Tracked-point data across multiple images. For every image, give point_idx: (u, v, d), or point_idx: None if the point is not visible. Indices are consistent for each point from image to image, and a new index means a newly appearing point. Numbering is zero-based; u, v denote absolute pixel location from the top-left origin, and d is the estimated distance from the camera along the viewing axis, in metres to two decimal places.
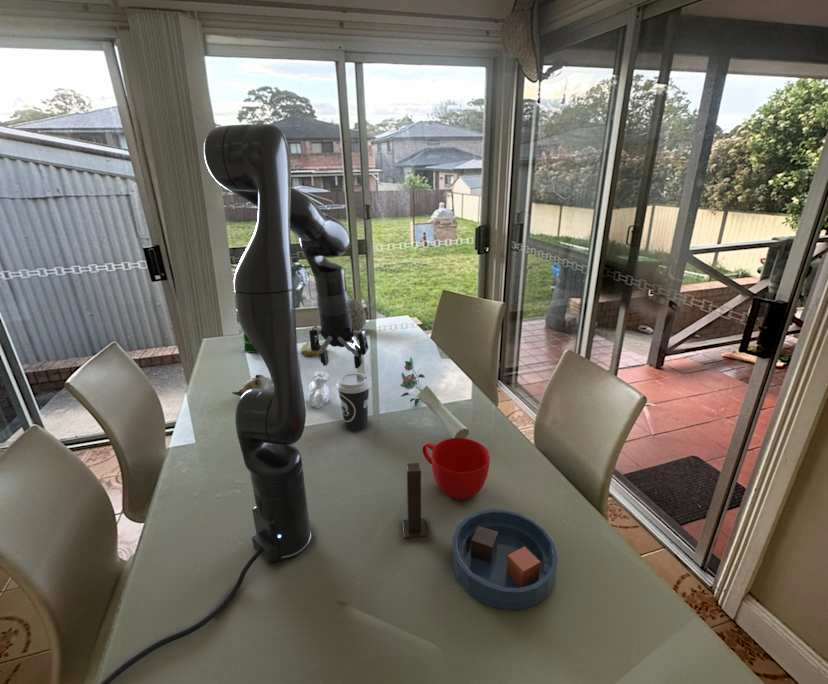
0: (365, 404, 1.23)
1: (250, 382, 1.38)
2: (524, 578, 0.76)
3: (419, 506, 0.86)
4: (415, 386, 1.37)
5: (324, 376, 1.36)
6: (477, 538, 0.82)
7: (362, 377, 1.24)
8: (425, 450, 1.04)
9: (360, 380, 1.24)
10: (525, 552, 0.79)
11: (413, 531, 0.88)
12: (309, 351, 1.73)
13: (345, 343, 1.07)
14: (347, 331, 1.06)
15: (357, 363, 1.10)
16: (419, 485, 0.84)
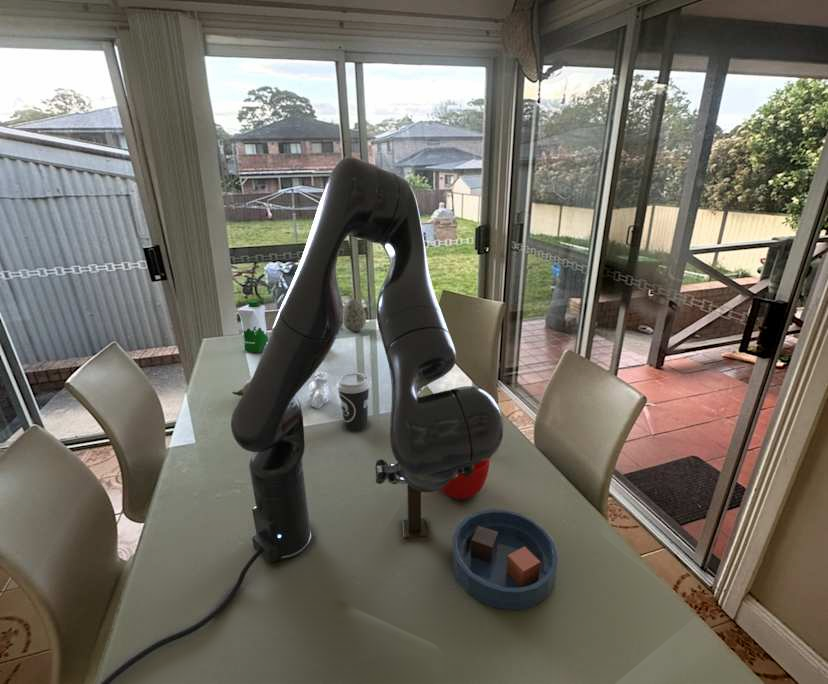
0: (365, 404, 1.23)
1: None
2: (524, 578, 0.76)
3: (419, 506, 0.86)
4: None
5: (324, 376, 1.36)
6: (477, 538, 0.82)
7: (362, 377, 1.24)
8: None
9: (360, 380, 1.24)
10: (525, 552, 0.79)
11: (413, 531, 0.88)
12: None
13: None
14: None
15: None
16: None
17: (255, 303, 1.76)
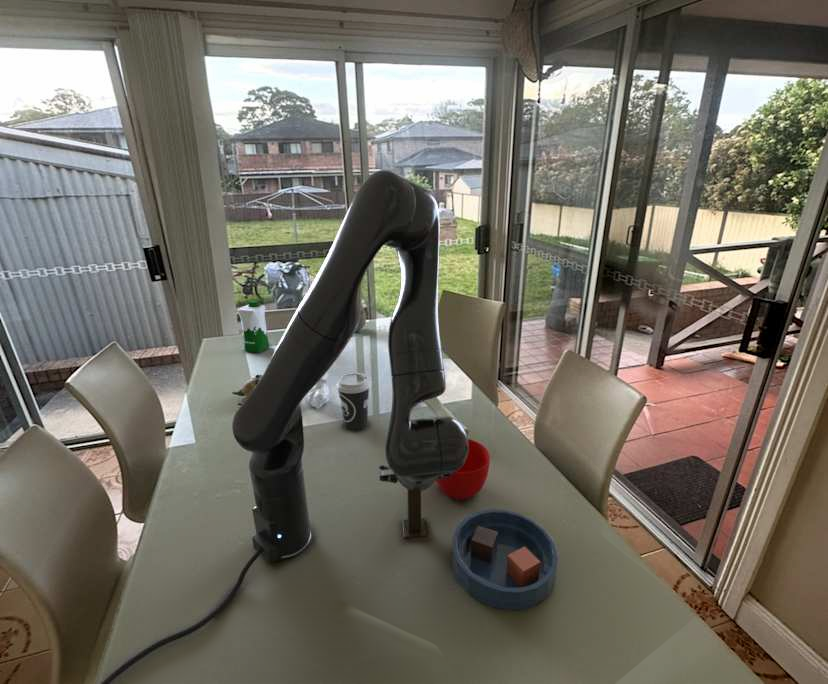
0: (365, 404, 1.23)
1: (250, 382, 1.38)
2: (524, 578, 0.76)
3: (419, 506, 0.86)
4: None
5: (324, 376, 1.36)
6: (477, 538, 0.82)
7: (362, 377, 1.24)
8: None
9: (360, 380, 1.24)
10: (525, 552, 0.79)
11: (413, 531, 0.88)
12: None
13: None
14: None
15: None
16: None
17: (255, 303, 1.76)
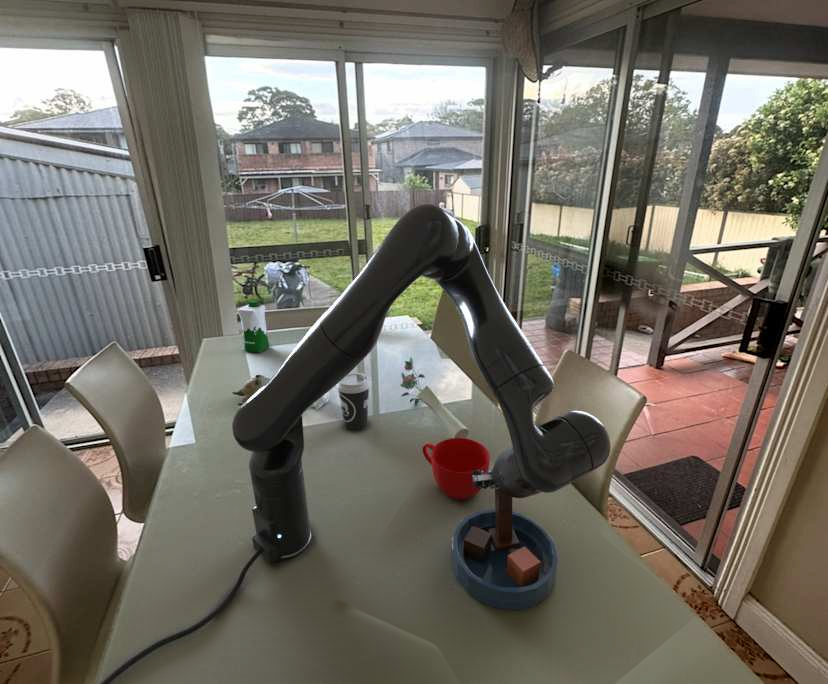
0: (365, 404, 1.23)
1: (251, 382, 1.38)
2: (524, 578, 0.76)
3: (510, 513, 0.80)
4: (415, 386, 1.37)
5: None
6: (469, 538, 0.82)
7: (362, 377, 1.24)
8: (425, 450, 1.04)
9: (360, 380, 1.24)
10: (525, 552, 0.79)
11: (504, 540, 0.82)
12: None
13: None
14: None
15: None
16: None
17: (255, 303, 1.76)
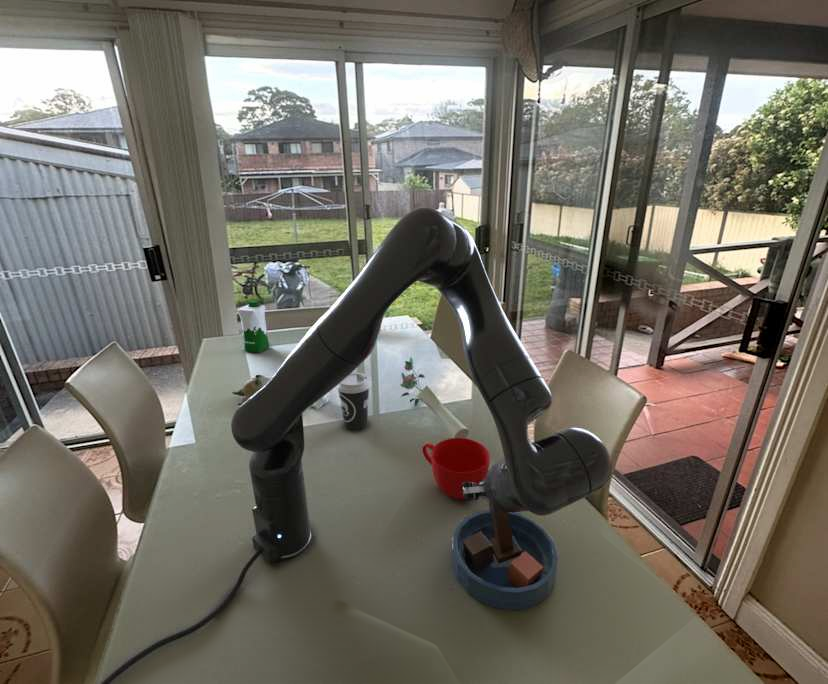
0: (365, 404, 1.23)
1: (251, 382, 1.38)
2: (528, 585, 0.74)
3: (508, 521, 0.76)
4: (415, 386, 1.37)
5: None
6: (468, 541, 0.81)
7: (362, 377, 1.24)
8: (425, 450, 1.04)
9: (360, 380, 1.24)
10: (527, 557, 0.77)
11: (506, 550, 0.78)
12: None
13: None
14: None
15: None
16: None
17: (255, 303, 1.76)
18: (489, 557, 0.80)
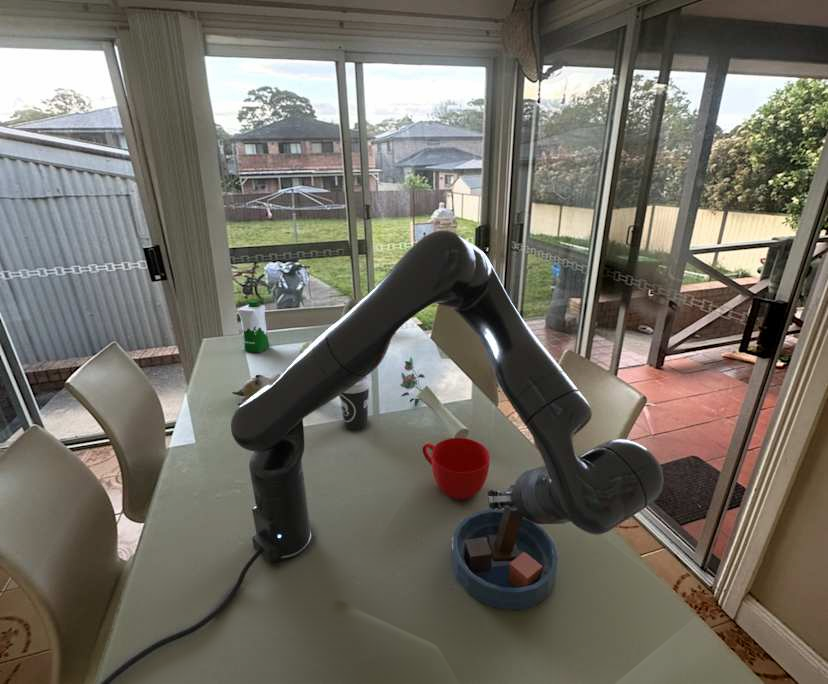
0: (365, 404, 1.23)
1: (251, 382, 1.38)
2: (528, 585, 0.74)
3: (517, 529, 0.76)
4: (415, 386, 1.37)
5: None
6: (470, 542, 0.81)
7: None
8: (425, 450, 1.04)
9: (360, 380, 1.24)
10: (526, 558, 0.78)
11: (504, 551, 0.79)
12: None
13: None
14: None
15: (503, 495, 0.75)
16: None
17: (255, 303, 1.76)
18: (487, 564, 0.79)
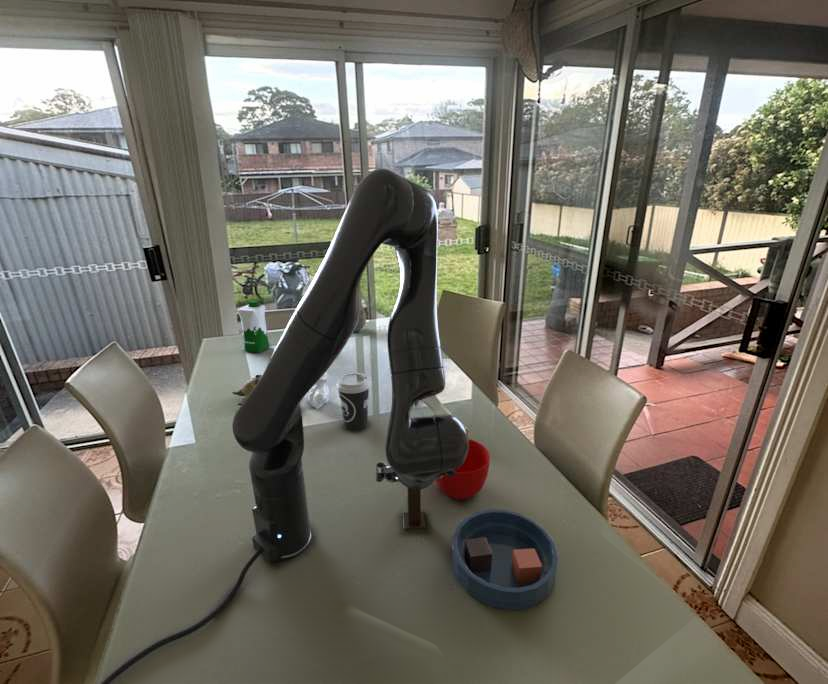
0: (365, 404, 1.23)
1: (250, 382, 1.38)
2: (520, 575, 0.76)
3: (419, 498, 0.88)
4: None
5: (324, 376, 1.36)
6: (470, 542, 0.81)
7: (362, 377, 1.24)
8: None
9: (360, 380, 1.24)
10: (531, 553, 0.78)
11: (413, 523, 0.90)
12: None
13: None
14: None
15: None
16: None
17: (255, 303, 1.76)
18: (487, 564, 0.79)
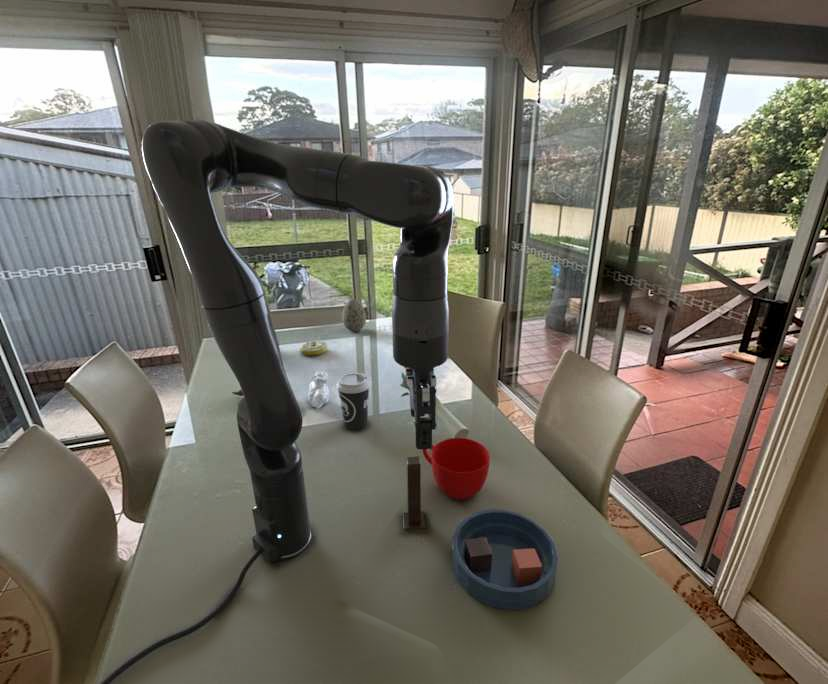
0: (365, 404, 1.23)
1: None
2: (520, 575, 0.76)
3: (419, 499, 0.88)
4: None
5: (324, 376, 1.36)
6: (470, 542, 0.81)
7: (362, 377, 1.24)
8: (425, 450, 1.04)
9: (360, 380, 1.24)
10: (531, 553, 0.78)
11: (413, 523, 0.90)
12: (309, 351, 1.73)
13: None
14: (414, 374, 0.58)
15: (417, 439, 0.60)
16: (419, 478, 0.86)
17: None
18: (487, 564, 0.79)
